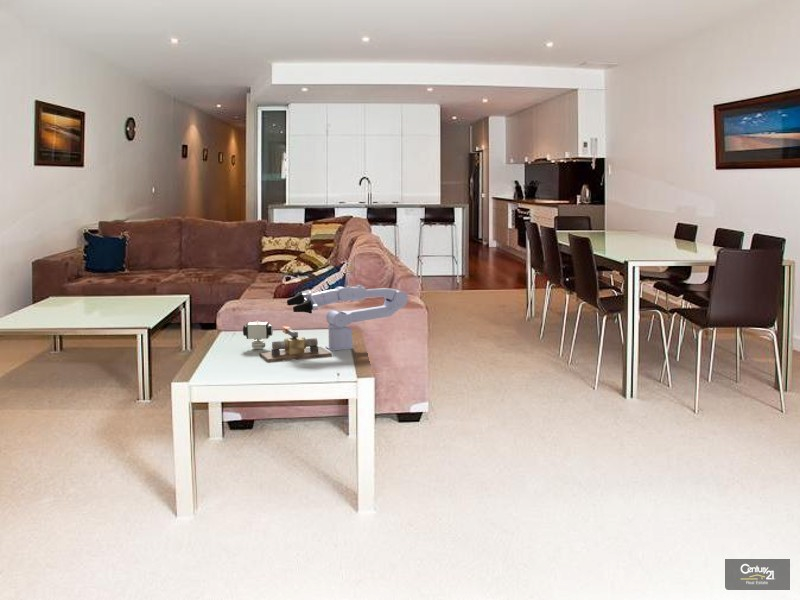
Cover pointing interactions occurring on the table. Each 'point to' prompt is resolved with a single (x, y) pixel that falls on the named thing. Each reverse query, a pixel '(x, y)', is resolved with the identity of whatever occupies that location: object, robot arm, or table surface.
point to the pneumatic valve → (258, 333)
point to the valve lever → (290, 332)
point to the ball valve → (294, 350)
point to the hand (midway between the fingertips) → (290, 306)
